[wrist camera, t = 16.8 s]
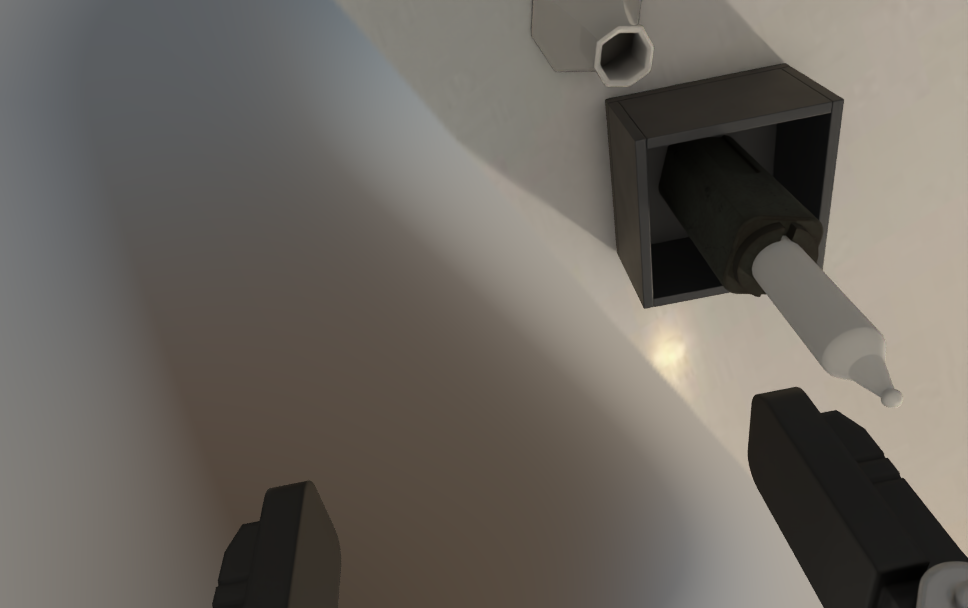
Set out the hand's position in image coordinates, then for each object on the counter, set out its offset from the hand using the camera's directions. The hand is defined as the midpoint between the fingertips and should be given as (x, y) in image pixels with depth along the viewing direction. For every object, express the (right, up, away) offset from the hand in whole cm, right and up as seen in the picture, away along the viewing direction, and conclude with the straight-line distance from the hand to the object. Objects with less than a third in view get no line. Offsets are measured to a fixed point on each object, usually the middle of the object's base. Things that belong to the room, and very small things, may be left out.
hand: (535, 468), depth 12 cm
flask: (+6, +21, +31) cm, 38 cm away
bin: (+15, +13, +38) cm, 43 cm away
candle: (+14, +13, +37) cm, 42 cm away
